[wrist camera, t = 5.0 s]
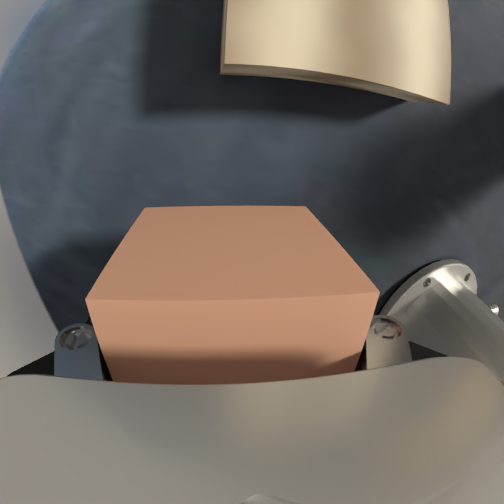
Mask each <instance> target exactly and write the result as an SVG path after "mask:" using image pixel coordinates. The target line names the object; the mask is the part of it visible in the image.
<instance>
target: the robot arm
mask: <svg viewBox="0 0 504 504" xmlns="http://www.w3.org/2000/svg"><path fill="white" fill-rule="evenodd" d="M476 295H477V282H476V277H475V275H474V273H473V271H472V270H471V269H470V268H469V267H468V266H467V265H465V264H464V263H462V262H461V261H459V260H454V259H446V260H441V261H438V262H434V263H432V264H430V265H428V266H426V267H424V268H422V269H421V270H420V271H418V272H417V273H415V274H414V275H413V276H411V277H410V278H409V279H408V280H407V281H406V282H405V283H403V284H402V285H401V286H400V287H399V288H398V290H397V291H396V292H395V293H394V294H393V295H392V296H391V297H390V299H389V300H388V302H387V303H386V304H385V306H384V307H383V309H382V311H381V312H380V314H379V315H375V316H373V317H372V321H371V324H370V327H369V330H368V333H367V336H366V339H365V342H364V345H363V348H362V351H361V354H360V357H359V360H358V363H357V365H356V368H355V371H354V372H349V373H343V374H336V375H328V376H321V377H313V378H304V379H294V380H284V381H272V382H258V383H240V384H207V385H178V384H145V383H128V382H114V381H113V379H112V377H111V374H110V372H109V369H108V367H107V364H106V361H105V359H104V356H103V353H102V350H101V348H100V345H99V342H98V339H97V336H96V333H95V330H94V327H93V324H92V320H91V317H90V316H89V318H88V320H87V322H86V324H84V323H78V324H73V325H69V326H67V327H65V328H64V329H62V330H61V331H60V332H59V333H58V335H57V336H56V339H55V351H54V352H52V353H50V354H48V355H46V356H44V357H42V358H40V359H38V360H36V361H34V362H32V363H30V364H28V365H26V366H24V367H22V368H20V369H18V370H16V371H14V372H12V373H10V374H9V375H8V376H7V377H3V378H0V504H504V322H503V321H502V320H501V319H500V318H499V317H498V316H497V315H498V307H497V305H495V304H493V305H489V306H487V305H486V304H485V303H483V302H482V301H481V300H480V299H479V298H478V297H477V296H476Z"/></svg>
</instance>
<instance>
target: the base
mask: <svg viewBox="0 0 504 504" xmlns="http://www.w3.org/2000/svg"><path fill="white" fill-rule="evenodd" d="M220 75H245V76H264V77H277V78H288V79H297V80H306V81H313V82H320V83H327V84H333V85H339V86H345V87H351V88H356V89H361V90H366V91H370V92H375V93H379V94H384V95H388V96H392V97H396V98H400V99H403V100H407V101H416V102H427V103H437V104H446V105H450V87H451V40H450V22H449V10H448V0H224V2H223V18H222V35H221V56H220Z"/></svg>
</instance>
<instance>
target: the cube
mask: <svg viewBox="0 0 504 504" xmlns="http://www.w3.org/2000/svg"><path fill="white" fill-rule="evenodd" d="M379 293H380V291H379V290H378V289H377V288H376V287H375V285H374V284H373V283H372V282H371V280H370V279H369V278H368V277H367V276H366V274H365V273H364V272H363V271H362V270H361V269H360V267H359V266H358V265H357V264H356V263H355V261H354V260H353V259H352V258H351V257H350V256H349V254H348V253H347V252H346V251H345V250H344V249H343V247H342V246H341V245H340V244H339V243H338V242H337V241H336V240H335V238H334V237H333V236H332V235H331V234H330V233H329V232H328V230H327V229H326V228H325V227H324V226H323V225H322V224H321V223H320V222H319V221H318V219H317V218H316V217H315V216H314V215H313V214H312V213H311V212H310V211H309V210H308V208H307V207H306V206H185V207H151V208H145V209H144V210H143V211H142V213H141V214H140V216H139V217H138V218H137V220H136V221H135V223H134V224H133V225H132V227H131V228H130V230H129V231H128V233H127V234H126V236H125V237H124V239H123V240H122V242H121V243H120V245H119V246H118V248H117V249H116V251H115V252H114V254H113V255H112V257H111V258H110V260H109V261H108V263H107V264H106V266H105V268H104V269H103V271H102V272H101V274H100V276H99V277H98V279H97V280H96V282H95V284H94V285H93V287H92V289H91V290H90V292H89V294H88V295H87V297H86V299H85V300H86V304H87V307H88V311H89V314H90V317H91V320H92V324H93V327H94V330H95V333H96V336H97V339H98V342H99V345H100V348H101V350H102V353H103V356H104V359H105V361H106V364H107V367H108V369H109V372H110V374H111V377H112V379H113V381H114V382H128V383H145V384H178V385H207V384H240V383H258V382H272V381H284V380H294V379H304V378H313V377H321V376H328V375H336V374H343V373H349V372H354V371H355V368H356V365H357V363H358V360H359V357H360V354H361V351H362V348H363V345H364V342H365V339H366V336H367V333H368V330H369V327H370V324H371V321H372V317H373V314H374V311H375V307H376V304H377V300H378V297H379Z"/></svg>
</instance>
